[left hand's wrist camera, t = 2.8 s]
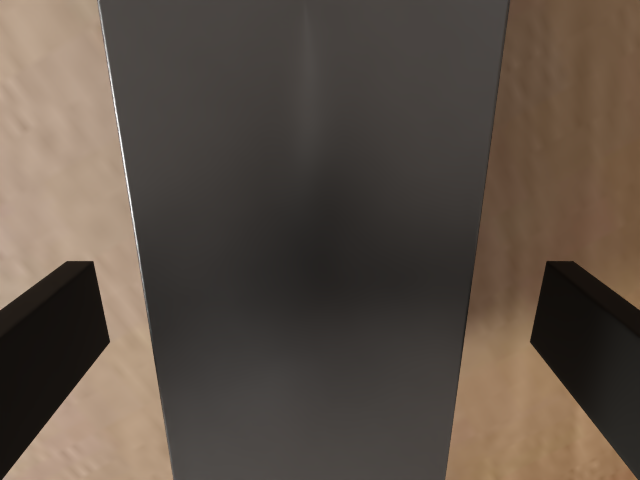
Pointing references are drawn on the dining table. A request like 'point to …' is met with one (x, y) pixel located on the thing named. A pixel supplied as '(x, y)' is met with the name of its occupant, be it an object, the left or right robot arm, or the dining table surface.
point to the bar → (306, 223)
